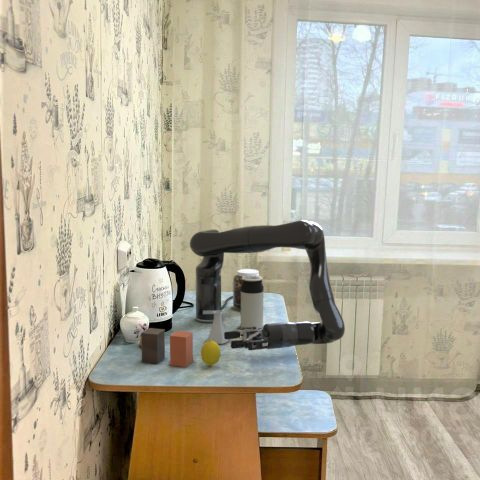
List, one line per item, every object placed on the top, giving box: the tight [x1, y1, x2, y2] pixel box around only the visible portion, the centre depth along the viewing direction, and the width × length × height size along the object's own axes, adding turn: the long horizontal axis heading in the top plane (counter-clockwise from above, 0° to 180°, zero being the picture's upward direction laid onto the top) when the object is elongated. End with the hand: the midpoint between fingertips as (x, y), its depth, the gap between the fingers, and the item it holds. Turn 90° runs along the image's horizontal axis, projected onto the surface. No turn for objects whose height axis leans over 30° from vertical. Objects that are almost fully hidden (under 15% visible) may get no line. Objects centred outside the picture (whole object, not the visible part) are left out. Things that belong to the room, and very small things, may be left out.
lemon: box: [200, 340, 221, 367], centre depth 173 cm, size 6×6×8 cm
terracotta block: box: [169, 330, 194, 368], centre depth 175 cm, size 5×5×9 cm
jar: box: [232, 268, 264, 312], centre depth 235 cm, size 12×12×15 cm
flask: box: [206, 310, 229, 345], centre depth 195 cm, size 7×7×10 cm
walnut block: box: [140, 327, 166, 365], centre depth 177 cm, size 5×5×9 cm
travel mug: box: [240, 275, 265, 330], centre depth 211 cm, size 8×8×18 cm
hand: (227, 340), depth 174 cm, fingers open, 8 cm apart
